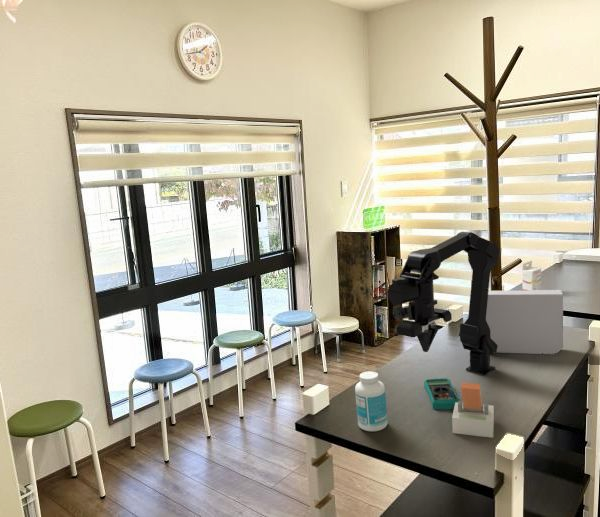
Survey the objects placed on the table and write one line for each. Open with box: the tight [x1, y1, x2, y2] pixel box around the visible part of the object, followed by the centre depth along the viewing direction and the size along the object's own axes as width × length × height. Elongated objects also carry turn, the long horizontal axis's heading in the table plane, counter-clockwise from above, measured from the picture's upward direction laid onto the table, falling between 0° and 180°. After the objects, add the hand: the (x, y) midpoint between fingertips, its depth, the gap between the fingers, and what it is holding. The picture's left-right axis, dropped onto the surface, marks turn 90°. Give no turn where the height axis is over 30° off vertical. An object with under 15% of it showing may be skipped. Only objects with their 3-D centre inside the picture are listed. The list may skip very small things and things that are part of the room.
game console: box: [486, 289, 564, 355], centre depth 165 cm, size 6×27×20 cm, turn 71°
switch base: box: [451, 400, 495, 439], centre depth 121 cm, size 8×9×6 cm
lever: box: [460, 382, 483, 412], centre depth 118 cm, size 2×4×11 cm
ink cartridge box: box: [521, 260, 542, 291], centre depth 228 cm, size 9×5×15 cm, turn 130°
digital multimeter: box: [423, 377, 461, 410], centre depth 138 cm, size 7×15×3 cm, turn 176°
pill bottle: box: [354, 370, 389, 432], centre depth 126 cm, size 8×7×14 cm
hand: (425, 351), depth 140 cm, fingers closed
